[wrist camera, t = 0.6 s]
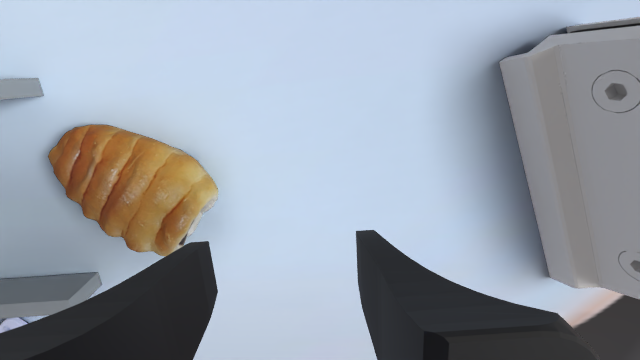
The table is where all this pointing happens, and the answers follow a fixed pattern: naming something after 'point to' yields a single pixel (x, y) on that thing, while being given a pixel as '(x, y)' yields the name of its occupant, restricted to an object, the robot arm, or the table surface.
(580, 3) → the table surface
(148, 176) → the pastry
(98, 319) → the robot arm
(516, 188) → the table surface
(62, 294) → the chute dock
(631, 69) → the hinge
